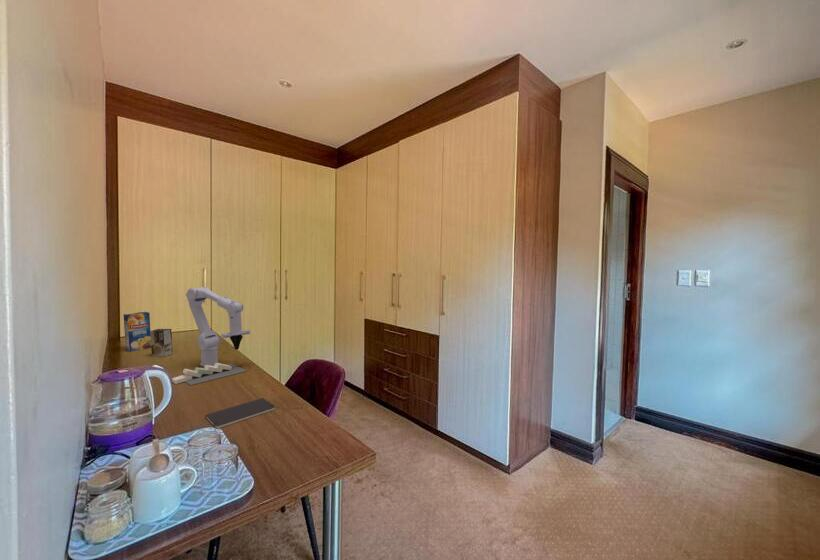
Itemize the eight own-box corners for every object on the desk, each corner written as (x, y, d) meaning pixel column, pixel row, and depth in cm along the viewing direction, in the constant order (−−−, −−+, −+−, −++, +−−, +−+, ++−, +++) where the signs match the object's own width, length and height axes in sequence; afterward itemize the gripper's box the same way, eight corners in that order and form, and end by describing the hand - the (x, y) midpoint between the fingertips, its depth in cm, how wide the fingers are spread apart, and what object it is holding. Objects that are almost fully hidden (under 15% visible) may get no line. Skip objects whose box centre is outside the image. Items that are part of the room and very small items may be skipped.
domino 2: (200, 377, 167) (185, 374, 162) (196, 375, 170) (182, 372, 166) (202, 374, 168) (187, 370, 163) (198, 371, 171) (184, 368, 166)
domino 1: (192, 379, 165) (175, 384, 159) (189, 376, 168) (172, 381, 162) (191, 375, 164) (174, 380, 159) (188, 373, 168) (171, 378, 162)
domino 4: (230, 370, 178) (217, 368, 173) (227, 368, 181) (213, 366, 176) (232, 366, 179) (218, 364, 174) (228, 365, 182) (215, 362, 177)
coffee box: (173, 353, 212) (172, 328, 211) (164, 356, 206) (163, 330, 205) (160, 353, 213) (158, 328, 212) (151, 356, 207) (149, 330, 206)
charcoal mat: (177, 376, 170) (177, 375, 170) (231, 364, 190) (231, 363, 190) (190, 385, 157) (190, 384, 157) (247, 371, 177) (246, 370, 177)
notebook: (262, 401, 141) (205, 418, 125) (262, 397, 141) (205, 414, 125) (276, 410, 132) (216, 430, 117) (276, 406, 132) (216, 426, 117)
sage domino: (212, 374, 171) (197, 372, 166) (208, 372, 174) (194, 370, 169) (213, 371, 172) (199, 369, 167) (209, 369, 175) (195, 367, 170)
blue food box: (147, 346, 232) (145, 311, 231) (151, 347, 228) (149, 312, 226) (125, 350, 222) (123, 314, 221) (129, 351, 218) (127, 315, 217)
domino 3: (221, 372, 175) (207, 370, 170) (217, 370, 178) (204, 368, 173) (222, 369, 175) (209, 366, 170) (219, 367, 178) (205, 364, 173)
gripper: (224, 327, 175) (225, 353, 176) (252, 323, 186) (253, 347, 187) (219, 325, 180) (220, 351, 181) (246, 322, 191) (247, 345, 192)
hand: (236, 349), depth 184 cm, fingers closed
